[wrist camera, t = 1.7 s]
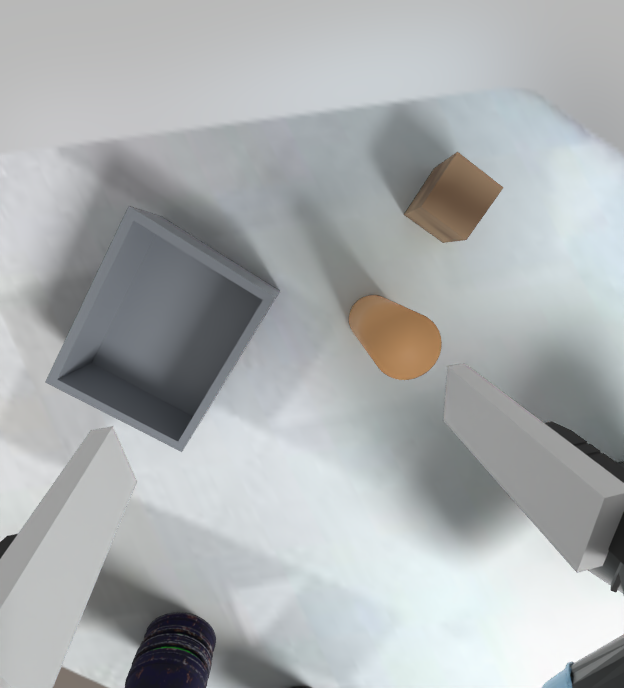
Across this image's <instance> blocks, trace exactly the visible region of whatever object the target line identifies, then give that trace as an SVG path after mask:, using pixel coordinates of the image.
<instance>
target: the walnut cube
mask: <svg viewBox="0 0 624 688" xmlns="http://www.w3.org/2000/svg"><path fill="white" fill-rule="evenodd" d="M502 189H503V187H502V186H501V185H500V184H498V183H497V182H496V181H494V180H493V179H492V178H491V177H489V176H488V175H487V174H485V173H484V172H483V171H482V170H480V169H479V168H478V167H476V166H475V165H474V164H473V163H471V162H470V161H469V160H467V159H466V158H465V157H464V156H462V155H461V154H460V153H458V152H457V153H455V154H454V155H452V156H451V157H449V158H448V159H447V160H445V161H444V162H442V163H441V164H439V165H438V166H437V167H435V168H434V169H433V171H432V172H431V174H430V175H429V177H428V178H427V180H426V182H425V183H424V185H423V186H422V188H421V189H420V191H419V192H418V194H417V195H416V197H415V198H414V200H413V201H412V203H411V204H410V206H409V207H408V209H407V211H406V212H405V214H404V215H405V216H406V217H408V218H409V219H411V220H412V221H413V222H415V223H416V224H418V225H419V226H420V227H422V228H423V229H425V230H426V231H427V232H429V233H430V234H432V235H433V236H434V237H436V238H437V239H438V240H440V241H441V242H443V243H445V242H453V241H461V240H467V238H468V237H469V235H470V234H471V233H472V231H473V230H474V228H475V227H476V226H477V224H478V223H479V221H480V220H481V219H482V217H483V216H484V214H485V213H486V211H487V210H488V209H489V207H490V206H491V204H492V203H493V202H494V200H495V199H496V197H497V196H498V195H499V193H500V192H501V190H502Z"/></svg>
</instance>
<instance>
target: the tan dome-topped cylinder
mask: <svg viewBox="0 0 624 688" xmlns="http://www.w3.org/2000/svg"><path fill="white" fill-rule="evenodd" d="M349 325H350V328H351V330H352V331H353V333H354V334H355V336H356V337H357V338H358V340H359V341H360V343H361V344H362V345H363V347H364V348H365V350H366V351H367V352H368V354H369V355H370V357H371V358H372V359H373V361H374V362H375V364H376V365H377V366H378V368H379V369H380V370H381V371H382V372H383V373H384V374H386V375H387V376H389V377H391V378H395V379H399V380H409V379H414V378H417V377H419V376H421V375H423V374H425V373H426V372H427V371H429V370H430V369H431V368H432V367H433V365H434V364H435V363H436V361H437V359H438V357H439V355H440V351H441V336H440V333H439V330H438V328H437V327H436V325H435V324H434V323H433V322H432V321H431V320H430V319H429V318H427V317H426V316H424V315H421V314H419V313H417V312H415V311H413V310H410V309H408V308H406V307H404V306H401V305H399V304H397V303H395V302H392V301H390V300H388V299H386V298H384V297H381V296H378V295H369V296H365V297H363V298H361V299H359V300H358V301H357V302H356V303H355V304H354V305H353V307H352V309H351V311H350V314H349Z"/></svg>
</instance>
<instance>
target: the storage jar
mask: <svg viewBox="0 0 624 688" xmlns="http://www.w3.org/2000/svg"><path fill="white" fill-rule="evenodd" d="M215 644H216V636H215V633H214V630H213V629H212V627H211V626H210V625H209V624H208V623H207V622H206V621H205V620H203V619H201V618H200V617H198V616H195V615H192V614H188V613H170V614H166V615H163V616H161V617H159V618H157V619H156V620H154V621H153V622H152V623H151V624H150V626H149V627H148V629H147V631H146V634H145V636H144V640H143V641H142V643H141V646H140V647H139V649H138V650H137V653H136V655H135V658H134V660H133V662H132V667H131V669H130V671H129V673H128V676H127V678H126V682H125V688H206V686H207V680H208V678H209V674H210V670H211V665H212V657H213V651H214V648H215Z"/></svg>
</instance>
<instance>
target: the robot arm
mask: <svg viewBox="0 0 624 688" xmlns="http://www.w3.org/2000/svg"><path fill="white" fill-rule="evenodd" d="M443 421H444V422H445V423H446V424H447V425H448V427H449V428H450V429H451V430H452V431H453V432H454V433H455V435H456V436H457V437H458V438H459V439H460V440H461V441H462V443H463V444H464V445H465V446H466V447H467V448H468V449H469V450H470V452H471V453H472V454H473V455H474V456H475V457H476V458H477V460H478V461H479V462H480V463H481V464H482V465H483V466H484V468H485V469H486V470H487V471H488V472H489V473H490V474H491V476H492V477H493V478H494V479H495V480H496V481H497V482H498V484H499V485H500V486H501V487H502V488H503V489H504V490H505V491H506V493H507V494H508V495H509V496H510V497H511V498H512V499H513V501H514V502H515V503H516V504H517V505H518V506H519V507H520V509H521V510H522V511H523V512H524V513H525V514H526V515H527V517H528V518H529V519H530V520H531V521H532V522H533V523H534V524H535V526H536V527H537V528H538V529H539V530H540V531H541V532H542V534H543V535H544V536H545V537H546V538H547V539H548V540H549V542H550V543H551V544H552V545H553V546H554V547H555V548H556V550H557V551H558V552H559V553H560V554H561V555H562V556H563V557H564V559H565V560H566V561H567V562H568V563H569V564H570V565H571V567H572V568H573V569H574V570H575V571H576V572H577V573H578V572H581V571H585V570H588V571H590V572H591V573H593V574H594V575H596V576H597V577H599V578H600V579H602V580H603V581H605V582H606V583H608V584H609V585H611V591H614V592H617V590H619V591H620V592H622V593H623V594H624V463H616V462H615V461H613V460H612V459H611V458H609V457H608V456H606V455H605V454H604V453H603V454H601V453H600V451H599V450H598V449H597V448H595V447H594V446H592V445H591V444H587V441H585V440H584V439H582V438H581V437H580V436H578V435H577V434H575V433H574V432H573V431H571V430H569V429H567V428H565V427H563V426H560V425H558V424H556V423H554V422H548V423H543V422H542V421H541V420H539V419H538V418H537V417H535V416H534V415H533V414H531V413H530V412H529V411H527V410H526V409H525V408H523V407H522V406H521V405H520V404H518V403H517V402H516V401H514V400H513V399H512V398H510V397H509V396H508V395H506V394H505V393H504V392H502V391H501V390H500V389H498V388H497V387H496V386H494V385H493V384H492V383H490V382H489V381H488V380H486V379H485V378H484V377H482V376H481V375H480V374H478V373H477V372H476V371H474V370H473V369H472V368H470V367H469V366H468V365H466V364H465V363H463V364H457V365H451V366H447V377H446V390H445V403H444V416H443ZM136 483H137V480H136V478H135V476H134V473H133V471H132V469H131V467H130V464H129V462H128V460H127V457H126V455H125V453H124V451H123V448H122V446H121V444H120V441H119V439H118V437H117V435H116V432H115V430H114V428H113V426H112V427H107V428H101V429H96V430H91V431H90V432H89V434H88V435H87V437H86V438H85V439H84V441H83V442H82V444H81V445H80V447H79V448H78V449H77V451H76V452H75V454H74V455H73V456H72V458H71V459H70V461H69V462H68V464H67V465H66V466H65V468H64V469H63V471H62V472H61V474H60V475H59V476H58V478H57V479H56V481H55V482H54V483H53V485H52V486H51V488H50V489H49V491H48V492H47V493H46V495H45V496H44V498H43V499H42V501H41V502H40V503H39V505H38V506H37V508H36V509H35V510H34V512H33V513H32V515H31V516H30V518H29V519H28V520H27V522H26V523H25V525H24V526H23V528H22V529H21V530H20V532H19V533H18V534H15V535H10V536H7V537H6V538H4V539H3V540H2V541H1V542H0V688H53V685H54V683H55V681H56V678H57V676H58V673H59V671H60V669H61V666H62V664H63V661H64V659H65V656H66V654H67V651H68V649H69V647H70V644H71V642H72V639H73V637H74V634H75V632H76V629H77V627H78V625H79V622H80V620H81V617H82V615H83V612H84V610H85V607H86V605H87V603H88V600H89V598H90V595H91V593H92V590H93V588H94V585H95V583H96V581H97V578H98V576H99V573H100V571H101V568H102V566H103V563H104V561H105V559H106V556H107V554H108V551H109V549H110V546H111V544H112V541H113V539H114V537H115V534H116V532H117V529H118V527H119V524H120V522H121V520H122V517H123V515H124V512H125V510H126V507H127V505H128V502H129V500H130V498H131V495H132V493H133V490H134V488H135V485H136ZM542 688H624V635H622V636H620V637H619V638H617V639H615V640H613V641H612V642H610V643H608V644H606V645H605V646H603V647H601V648H600V649H598V650H596V651H594V652H593V653H591V654H589V655H587V656H586V657H584V658H582V659H581V660H579V661H577V662H575V663H573V662H569V663H567V665H566V668H565V669H564V670H563V671H561V672H560V673H559V674H557V675H556V676H554V677H553V678H551V679H550V680H548V681H547V682H546V683H545V684H544V685H543V687H542Z"/></svg>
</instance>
